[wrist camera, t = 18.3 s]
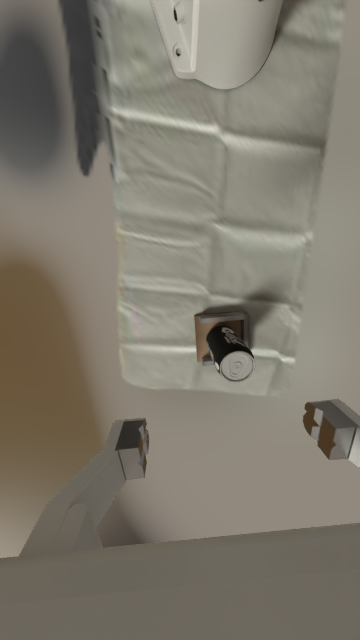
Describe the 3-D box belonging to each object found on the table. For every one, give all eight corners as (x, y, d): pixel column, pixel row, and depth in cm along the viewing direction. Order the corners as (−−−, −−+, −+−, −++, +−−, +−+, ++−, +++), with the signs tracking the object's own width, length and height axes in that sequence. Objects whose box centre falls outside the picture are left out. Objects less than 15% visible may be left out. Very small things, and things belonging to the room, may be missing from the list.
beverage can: (238, 327, 40) (263, 353, 29) (229, 353, 42) (250, 387, 31) (209, 321, 40) (223, 346, 28) (202, 348, 42) (213, 381, 30)
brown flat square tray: (197, 359, 43) (198, 366, 41) (194, 315, 40) (195, 319, 37) (243, 355, 43) (247, 361, 41) (244, 310, 40) (249, 314, 37)
